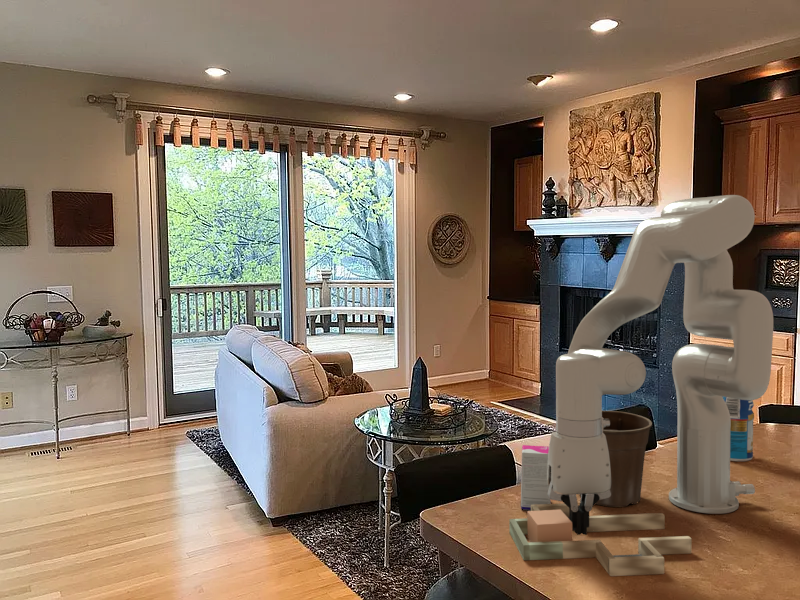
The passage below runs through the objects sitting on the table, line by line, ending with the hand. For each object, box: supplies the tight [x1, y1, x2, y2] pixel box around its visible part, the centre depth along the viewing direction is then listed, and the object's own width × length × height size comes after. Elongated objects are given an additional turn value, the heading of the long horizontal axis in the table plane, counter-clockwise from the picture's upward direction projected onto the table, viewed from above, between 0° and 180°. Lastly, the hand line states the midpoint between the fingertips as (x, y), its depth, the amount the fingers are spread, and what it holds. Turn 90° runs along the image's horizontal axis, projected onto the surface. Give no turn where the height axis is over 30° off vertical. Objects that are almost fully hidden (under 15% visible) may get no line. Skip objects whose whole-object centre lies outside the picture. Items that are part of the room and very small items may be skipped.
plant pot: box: [578, 410, 653, 508], centre depth 135 cm, size 16×16×16 cm
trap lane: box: [508, 502, 692, 577], centre depth 114 cm, size 28×24×2 cm
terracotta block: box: [526, 509, 573, 542], centre depth 114 cm, size 6×6×5 cm
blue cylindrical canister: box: [722, 396, 755, 462], centre depth 160 cm, size 8×8×20 cm
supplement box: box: [520, 444, 552, 511], centre depth 132 cm, size 6×6×12 cm
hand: (579, 531), depth 114 cm, fingers closed
